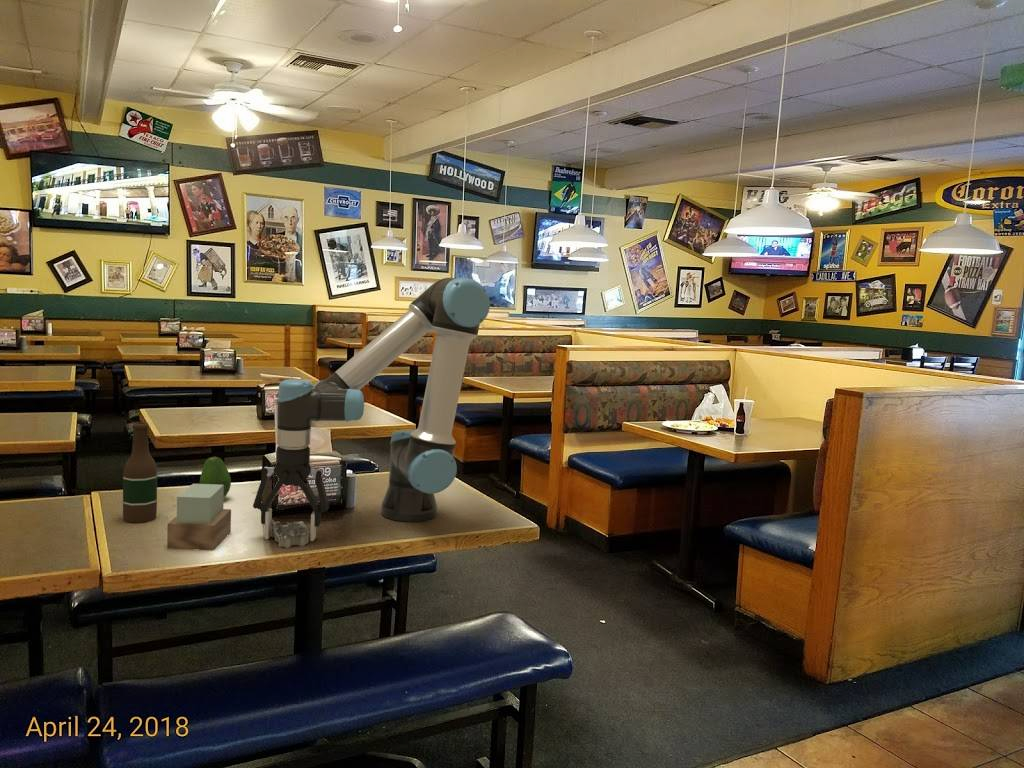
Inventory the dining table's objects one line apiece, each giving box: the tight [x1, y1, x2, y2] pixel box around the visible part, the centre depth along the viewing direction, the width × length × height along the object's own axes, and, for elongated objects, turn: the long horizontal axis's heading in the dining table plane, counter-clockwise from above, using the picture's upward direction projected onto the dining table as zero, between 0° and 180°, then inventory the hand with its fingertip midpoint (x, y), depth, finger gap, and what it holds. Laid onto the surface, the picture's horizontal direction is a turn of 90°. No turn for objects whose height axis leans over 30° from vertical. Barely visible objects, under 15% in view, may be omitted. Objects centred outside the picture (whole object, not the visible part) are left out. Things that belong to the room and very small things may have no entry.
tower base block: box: [166, 508, 232, 551], centre depth 165 cm, size 10×12×6 cm
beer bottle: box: [122, 421, 158, 524], centre depth 176 cm, size 8×8×24 cm
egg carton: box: [271, 519, 310, 549], centre depth 170 cm, size 11×8×4 cm
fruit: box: [199, 456, 232, 498], centre depth 195 cm, size 8×8×12 cm
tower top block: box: [176, 483, 225, 524], centre depth 165 cm, size 7×11×6 cm, turn 7°
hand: (290, 538), depth 170 cm, fingers open, 10 cm apart
